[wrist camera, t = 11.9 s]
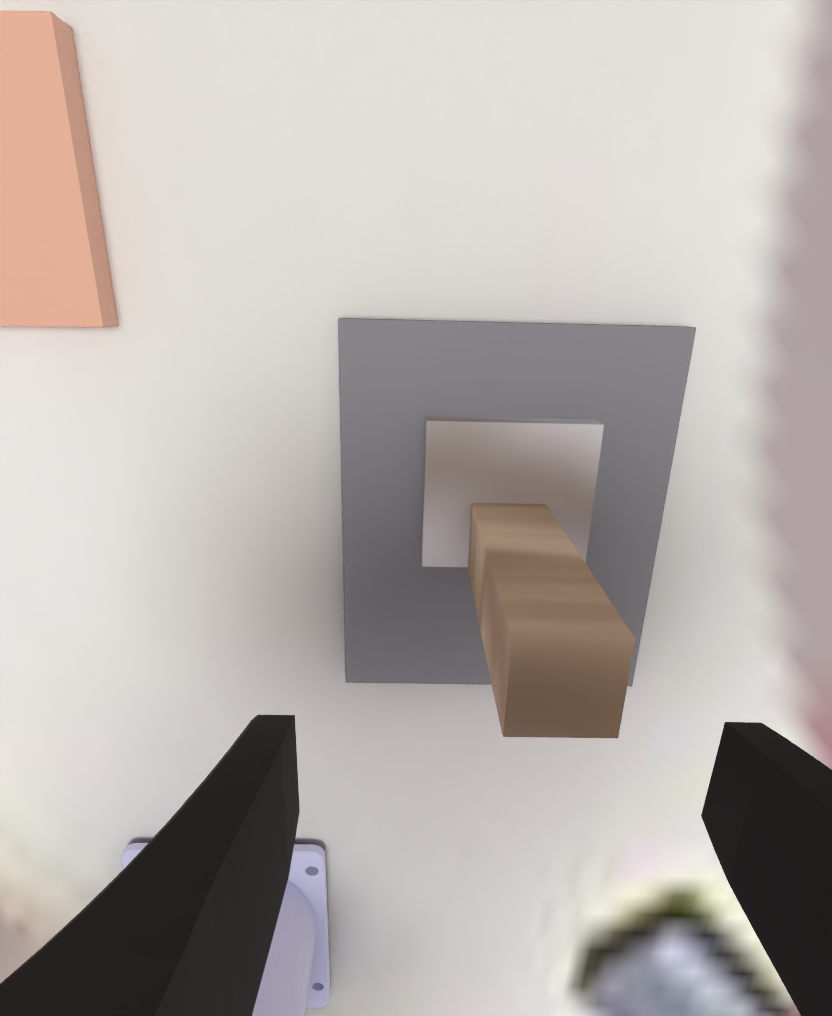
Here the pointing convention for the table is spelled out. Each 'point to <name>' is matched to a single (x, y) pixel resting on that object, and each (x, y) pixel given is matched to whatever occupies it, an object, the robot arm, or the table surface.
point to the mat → (490, 393)
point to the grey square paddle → (529, 566)
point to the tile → (48, 183)
